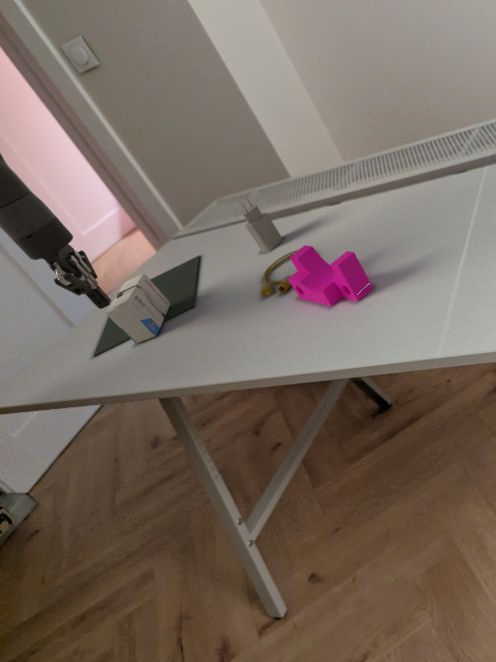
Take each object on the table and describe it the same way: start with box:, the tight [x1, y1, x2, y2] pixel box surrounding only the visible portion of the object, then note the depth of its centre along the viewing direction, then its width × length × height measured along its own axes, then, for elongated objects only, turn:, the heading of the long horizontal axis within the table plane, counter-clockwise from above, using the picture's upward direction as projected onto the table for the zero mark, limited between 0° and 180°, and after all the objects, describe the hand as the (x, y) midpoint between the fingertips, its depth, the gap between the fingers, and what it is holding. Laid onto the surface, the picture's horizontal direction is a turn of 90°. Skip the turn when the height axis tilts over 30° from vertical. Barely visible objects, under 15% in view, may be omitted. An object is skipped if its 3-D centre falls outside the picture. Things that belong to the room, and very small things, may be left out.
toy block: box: [288, 244, 374, 307], centre depth 93 cm, size 15×6×8 cm, turn 51°
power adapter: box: [240, 197, 284, 253], centre depth 121 cm, size 3×5×12 cm, turn 158°
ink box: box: [105, 273, 170, 344], centre depth 109 cm, size 8×5×12 cm
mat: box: [93, 255, 201, 358], centre depth 123 cm, size 30×22×1 cm
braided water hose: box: [260, 249, 299, 298], centre depth 109 cm, size 12×16×2 cm
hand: (106, 305), depth 102 cm, fingers closed
